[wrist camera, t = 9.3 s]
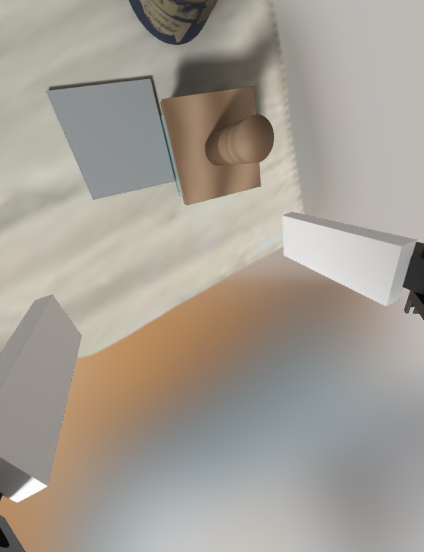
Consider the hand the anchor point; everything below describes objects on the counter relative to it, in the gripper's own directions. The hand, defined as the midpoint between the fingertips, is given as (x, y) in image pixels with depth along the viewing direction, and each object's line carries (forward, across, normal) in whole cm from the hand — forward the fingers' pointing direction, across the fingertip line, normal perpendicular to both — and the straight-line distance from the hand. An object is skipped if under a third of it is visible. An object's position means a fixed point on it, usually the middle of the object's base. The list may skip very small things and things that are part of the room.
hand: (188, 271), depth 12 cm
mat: (+24, 0, +9) cm, 26 cm away
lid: (+19, +11, +6) cm, 22 cm away
